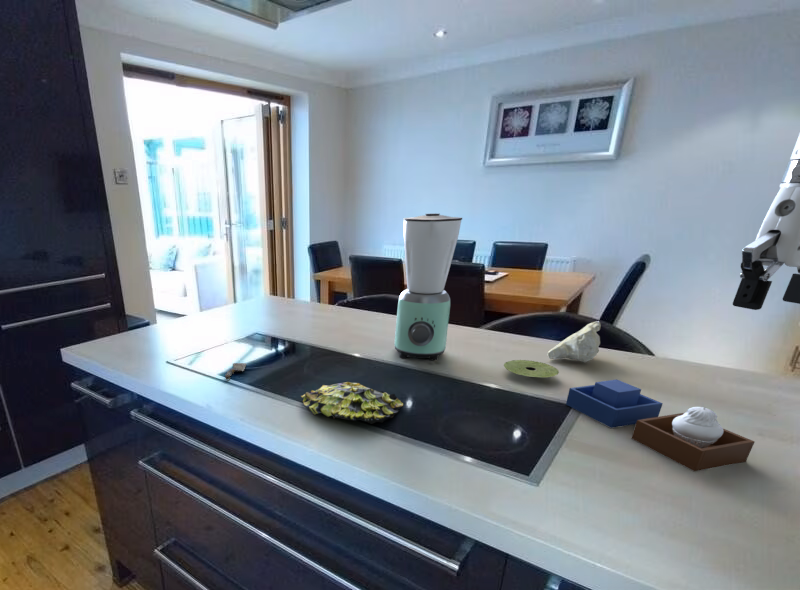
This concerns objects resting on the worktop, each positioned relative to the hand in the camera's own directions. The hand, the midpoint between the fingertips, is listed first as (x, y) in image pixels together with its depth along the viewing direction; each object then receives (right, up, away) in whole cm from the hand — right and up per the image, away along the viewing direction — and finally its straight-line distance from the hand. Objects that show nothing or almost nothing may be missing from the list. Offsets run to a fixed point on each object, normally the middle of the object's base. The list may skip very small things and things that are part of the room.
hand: (771, 305), depth 64 cm
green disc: (-14, -10, +38) cm, 42 cm away
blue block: (-8, -16, +20) cm, 27 cm away
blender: (-35, -3, +55) cm, 65 cm away
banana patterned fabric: (-58, -16, +25) cm, 65 cm away
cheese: (+3, -4, +50) cm, 50 cm away
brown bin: (-5, -22, +8) cm, 24 cm away
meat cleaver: (-83, -9, +45) cm, 95 cm away
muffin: (-5, -22, +8) cm, 24 cm away
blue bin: (-9, -17, +20) cm, 28 cm away
